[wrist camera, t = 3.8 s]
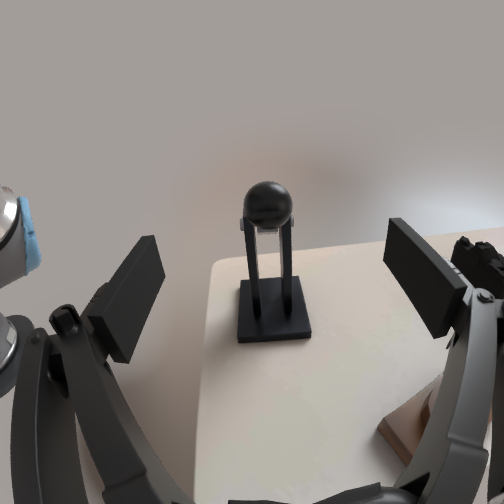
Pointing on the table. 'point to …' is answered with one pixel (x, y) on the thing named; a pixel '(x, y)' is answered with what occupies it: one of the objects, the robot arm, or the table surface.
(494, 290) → the film camera
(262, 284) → the black lever stand
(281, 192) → the switch lever
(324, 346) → the table surface
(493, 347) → the robot arm
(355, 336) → the table surface
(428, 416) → the brown button base
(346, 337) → the table surface
